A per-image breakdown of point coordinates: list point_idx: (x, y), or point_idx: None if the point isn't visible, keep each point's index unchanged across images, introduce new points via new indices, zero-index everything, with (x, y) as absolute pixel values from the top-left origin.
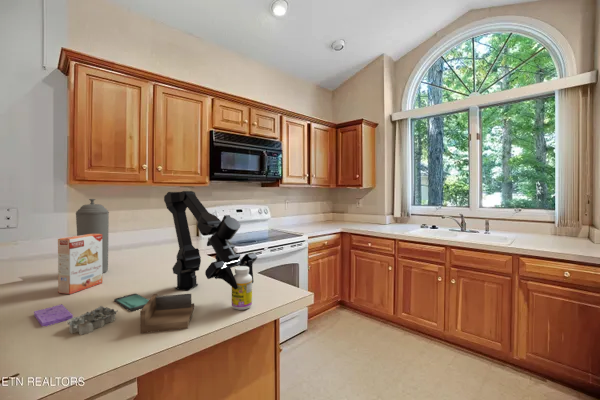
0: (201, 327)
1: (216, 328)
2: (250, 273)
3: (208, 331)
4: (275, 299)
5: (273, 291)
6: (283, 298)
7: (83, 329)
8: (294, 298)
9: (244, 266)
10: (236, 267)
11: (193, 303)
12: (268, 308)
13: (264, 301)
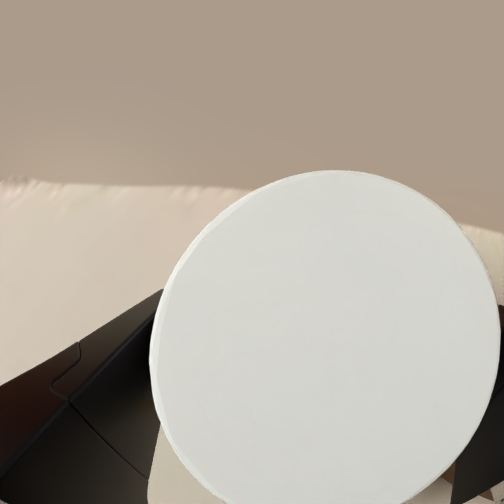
0: (496, 284)
1: (469, 232)
2: (133, 338)
3: (490, 236)
4: (78, 262)
5: (18, 349)
6: (52, 238)
7: None
8: (35, 198)
9: (202, 439)
10: (402, 493)
11: (450, 482)
12: (187, 202)
13: (128, 292)
